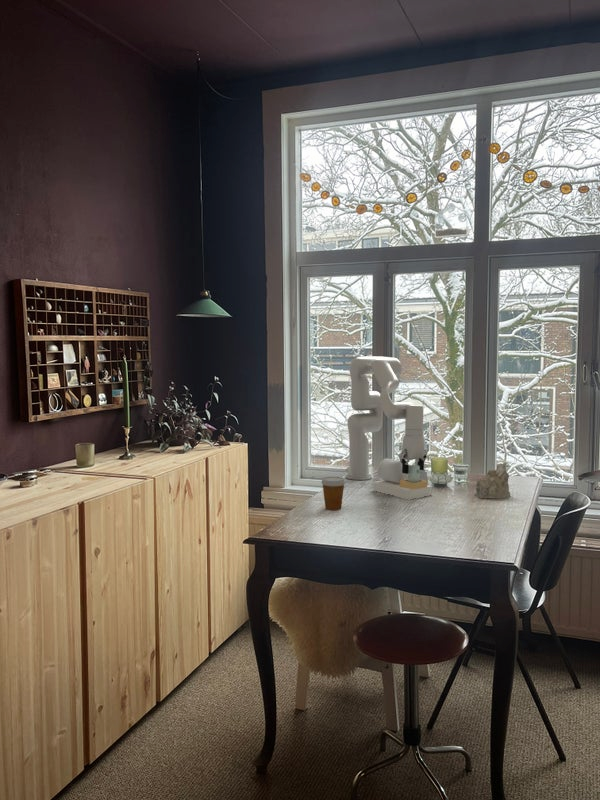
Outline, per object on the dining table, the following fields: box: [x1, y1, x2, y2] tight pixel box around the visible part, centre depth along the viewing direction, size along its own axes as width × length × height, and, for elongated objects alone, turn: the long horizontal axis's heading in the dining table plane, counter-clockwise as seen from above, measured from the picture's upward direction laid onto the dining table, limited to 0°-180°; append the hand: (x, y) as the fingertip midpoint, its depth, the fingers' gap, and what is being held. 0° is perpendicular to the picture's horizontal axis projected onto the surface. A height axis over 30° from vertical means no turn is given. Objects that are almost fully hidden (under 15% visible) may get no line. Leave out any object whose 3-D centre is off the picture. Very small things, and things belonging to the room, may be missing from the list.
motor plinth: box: [372, 457, 433, 500], centre depth 292 cm, size 22×14×14 cm, turn 38°
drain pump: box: [408, 464, 424, 483], centre depth 286 cm, size 8×5×9 cm, turn 38°
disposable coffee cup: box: [321, 476, 346, 511], centre depth 265 cm, size 10×10×12 cm
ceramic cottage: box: [474, 462, 511, 499], centre depth 289 cm, size 16×16×15 cm
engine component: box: [414, 459, 429, 485], centre depth 311 cm, size 11×20×10 cm
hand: (413, 471), depth 287 cm, fingers open, 9 cm apart
